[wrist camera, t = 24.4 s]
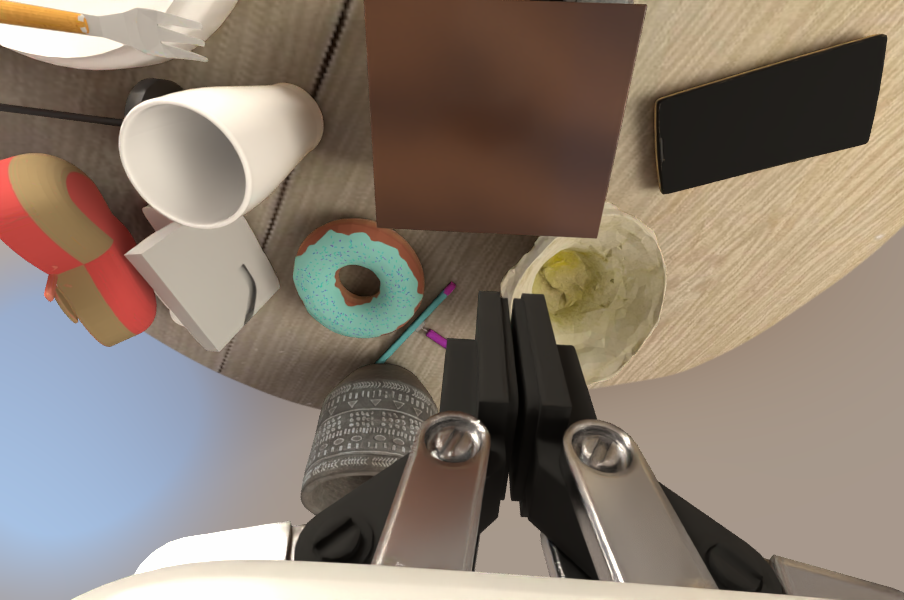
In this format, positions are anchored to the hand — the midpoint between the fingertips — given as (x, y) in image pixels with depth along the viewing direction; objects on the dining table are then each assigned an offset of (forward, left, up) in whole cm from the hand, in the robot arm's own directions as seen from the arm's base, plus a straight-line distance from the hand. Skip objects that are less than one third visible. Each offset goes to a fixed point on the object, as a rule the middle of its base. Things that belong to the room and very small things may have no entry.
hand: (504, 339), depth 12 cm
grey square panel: (+11, -21, -22) cm, 33 cm away
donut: (+13, -11, -27) cm, 32 cm away
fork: (-8, -37, -21) cm, 43 cm away
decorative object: (+7, -34, -26) cm, 44 cm away
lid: (-2, 0, -17) cm, 17 cm away
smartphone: (-2, +20, -27) cm, 34 cm away
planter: (+27, -9, -26) cm, 39 cm away
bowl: (+11, +9, -27) cm, 31 cm away
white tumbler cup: (-1, -16, -27) cm, 31 cm away
